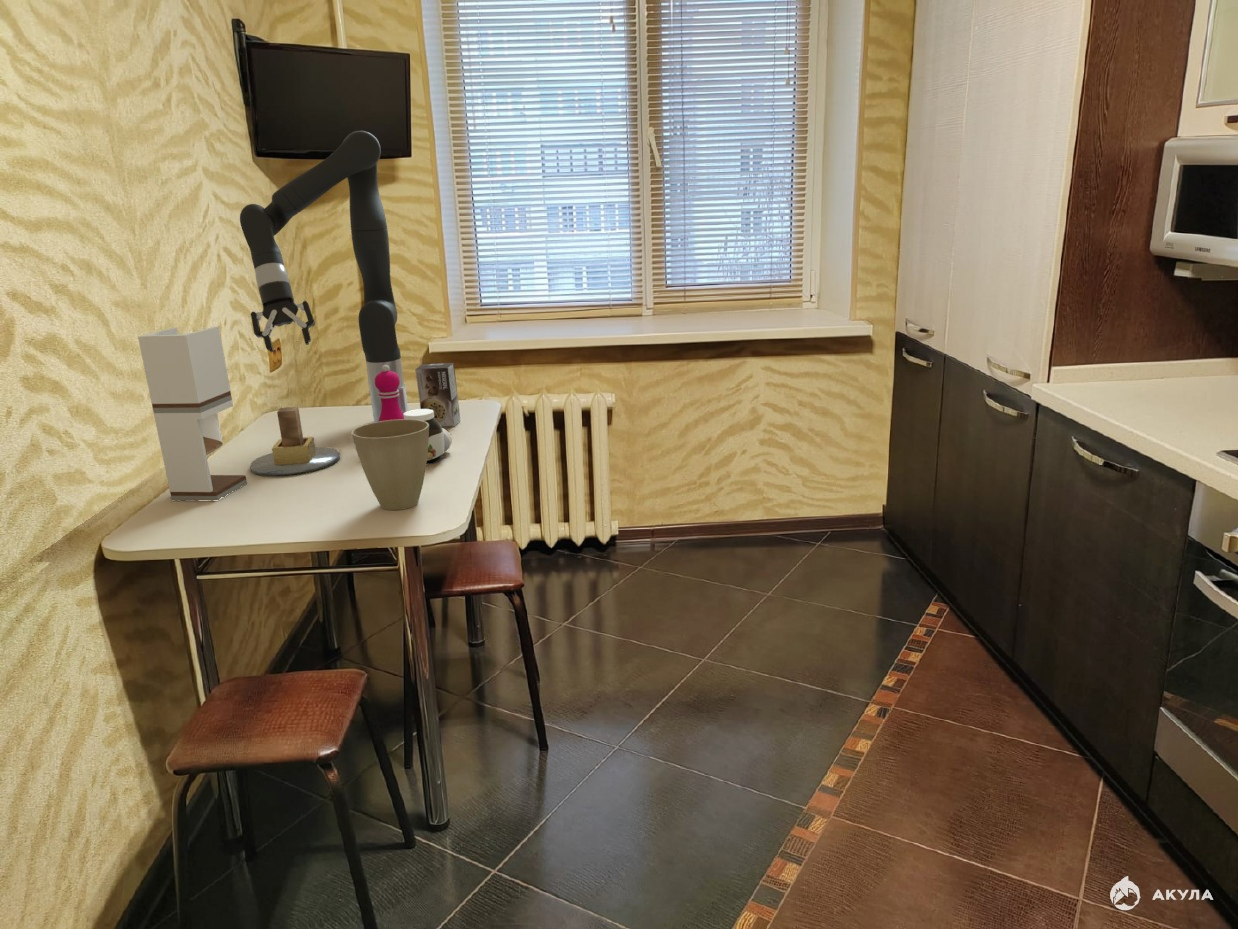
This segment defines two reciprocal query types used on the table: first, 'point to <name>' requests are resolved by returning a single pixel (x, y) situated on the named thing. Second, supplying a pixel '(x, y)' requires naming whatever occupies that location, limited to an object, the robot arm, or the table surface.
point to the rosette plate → (295, 459)
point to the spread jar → (432, 433)
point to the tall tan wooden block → (290, 426)
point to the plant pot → (394, 460)
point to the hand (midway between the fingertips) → (289, 347)
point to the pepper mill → (388, 394)
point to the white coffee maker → (189, 408)
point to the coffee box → (439, 392)
